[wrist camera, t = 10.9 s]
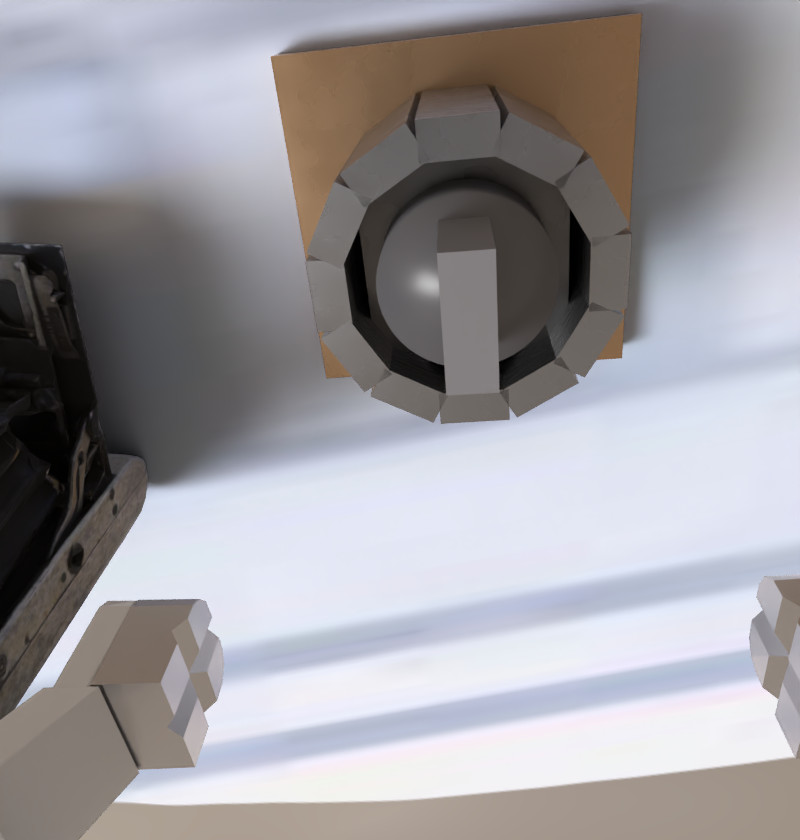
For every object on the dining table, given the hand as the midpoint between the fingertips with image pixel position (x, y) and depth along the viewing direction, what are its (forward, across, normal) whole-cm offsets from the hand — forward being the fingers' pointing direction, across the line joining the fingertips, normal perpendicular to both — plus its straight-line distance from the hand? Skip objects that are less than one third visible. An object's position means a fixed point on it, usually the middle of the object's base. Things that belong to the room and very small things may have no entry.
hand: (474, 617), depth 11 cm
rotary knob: (+17, 0, 0) cm, 17 cm away
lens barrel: (+24, 0, 0) cm, 24 cm away
